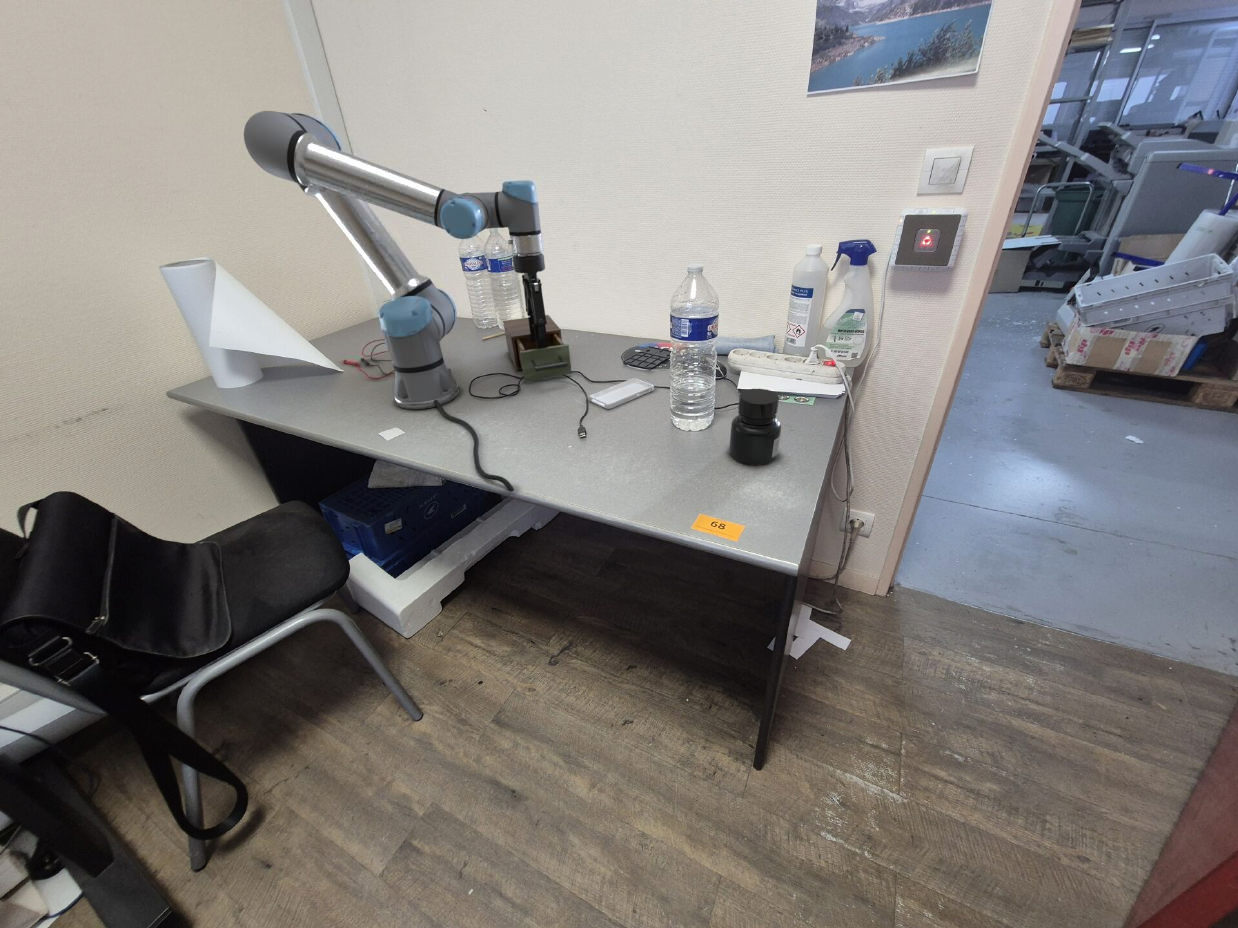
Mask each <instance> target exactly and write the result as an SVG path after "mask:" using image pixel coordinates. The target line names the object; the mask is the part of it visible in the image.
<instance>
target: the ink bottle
mask: <svg viewBox="0 0 1238 928" xmlns="http://www.w3.org/2000/svg"><path fill="white" fill-rule="evenodd" d="M779 401H780V397H779V394H778V393H776V392H775V391H772V390H769V389H764V388H749V389H745V390H743V391H741V392H740V394H739V398H738V408H737V409H738V415H736V416H734V418H732V421H731V425H730V436H729V437H730V438H729V453H730V455H731V457H732V458H734V459H735V460H736V461H738V462H740V463H742V464H746V465H751V466H753V465H754V466H755V465H756V466H757V465H766V464H768V463H772V462H773V461H774V460H776V459H777V457H778V453H779V449H780V447H779V446H780V442H781V441H780V440H781V434H782V433H781V432H782V425H781V422H780V421H779V420H778V418H776V417H777V416H778V409H779Z"/></svg>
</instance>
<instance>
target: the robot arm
mask: <svg viewBox="0 0 1238 928" xmlns="http://www.w3.org/2000/svg"><path fill="white" fill-rule="evenodd" d="M243 142H244V145H245V148H246V150H247V152H248V154H249V156H250V157H251V159H252V160H253V162H255V163H256V165H257V166H258V167H259V168H261V169H262V170H263V171H265V172H266V173H267V174H270V175H271V176H273V177H277V178H280V179H283V180H286V181H288V182H289V181H290V182H292V183H296V185H298V186H299V188H300V189H301V190H302V192H303V193H304V194H305V195H306V196H309V197H312V198H315V199H317V200H318V201H319V203H320V204H321V206H322V207H323V208H324V209H325V211H326V212H327V213H328V214H329V216H330V217H331V218H332V219H333V221H334V222H335V223H336V225H337V226H338V227H339V229H340V230H341V231H342V232H343V234H344V235H345V236H346V238H347V239H348V240H349V241H350V243H351V244H352V245H353V247H354V248H355V249H356V251H357V252H358V253H359V255H360V256H361V258H362V259H363V260H364V261H365V262H366V263H367V265H368V266H369V268H370V269H371V270H372V272H373V273H374V274H375V275H376V277H377V278H378V279H379V281H380V282H381V284H383V285H384V287H385V288H386V289H387V291H388V292H389V295H390V297H389V301H387V302H385V303H384V304H383V305H381V306H380V308H379V309H378V313H377V314H378V319H379V326H380V329H381V331H382V334H383V339H385V340H384V341H385V344H386V347H387V350H388V351H389V352H388V354H389V357H390V360H392V361H391V363H392V366H393V370H395V371H394V391H393V397H394V400H395V404H396V405H397V406H398V407H399V408H402V409H405V410H426V409H432V408H436V407H437V408H438V410H439V411H440V413H441V414H442V416H443V417H444V418H446V419H448V420H449V421H452V422H455V423H458V424H460V425H462V426H463V427H465V428H466V429H467V430H468V431H469V432H470V434H471V435H472V438H473V451H472V453H473V460H474V461H473V462H474V466H475V467H474V468H475V469H476V471H477V472H478V474H479V475H480V476H481V477H483V479H486V480H491V481H497V482H500V483H502V484H503V485H504V486H505V487H506V489H507V490H508V491H509V492H514V491H515V488H514V486H513V485H512V483H511V482H510V481H509V480H508V479H506V478H505V477H504V476H501V475H496V474H489V473H486V472H485V470H484V469H483V468H482V466H481V462H480V457H479V444H480V443H479V441H480V440H479V435H478V434H477V432H476V431H475V429H474V428H473V427H472V426H471V425H470V424H469V423H467V421H465V420H463V419H461V418H458V417H456V416H452V415H450V414H449V413H447V412H446V410H445V409H444V407H443V406H442V405H446V404H447V403H450V402H452V401H453V400H454V399H456V398H457V397H458V395H459V394H460V390H459V385H458V383H457V381H456V379H455V378H454V376H453V374H452V369H451V368H448V367H447V365H446V363H445V359H444V354H443V350H442V347H441V343H440V342H442V339H443V338H444V337H445V336H446V335H449V334H450V332H451V331H452V330H453V328H454V325H455V324H456V322H457V318H458V310H457V307H456V304H455V302H454V300H453V298H452V297H451V296H450V295H449V294H448V293H447V292H446V291H444V290H443V289H440V288H438V287H436V285H435V283H433V281H432V280H431V278H430V277H429V276H425V275H421V274H420V272H419V271H417V269H416V267H415V266H414V265H413V263H412V262H411V261H410V259H409V258H408V257H407V255H406V254H405V252H404V251H403V249H402V248H401V247H400V246H399V244H398V243H397V242H396V240H395V239H394V237H393V236H392V234H391V233H390V232H389V231H388V229H387V228H386V226H385V225H384V224H383V222H382V220H380V218H379V216H377V214H376V213H375V211H374V210H373V208H372V207H371V206H370V204H372V205H375V206H377V207H380V208H383V209H386V210H388V211H391V212H395V213H397V214H399V215H403V216H405V217H409V218H411V219H414V220H416V221H420V222H422V223H426V224H427V225H431V226H434V227H437V228H440V229H442V230H445V232H446V233H447V234H448V235H449V236H451V237H452V238H454V239H459V240H468V239H472V238H474V237H475V236H477V235H478V234H479V233H481V232H483V231H484V230H490V229H505V228H507V229H508V234H509V240H507V244H508V245H510V248H511V253H512V254H514V255H513V256H512V264H513V270H514V272H515V273H517V274H521V280H522V281H521V283H522V286H523V294H524V304H525V312H526V315H527V318H528V320H529V328H530V335H531V342H536V344H537V349H538V348H544V347H548V343H547V335H546V326H545V325H546V324H547V321H546V316H545V315H546V310H545V303H544V298H543V288H542V286H543V285H542V282H541V279H540V278H539V277H538V273H539V272H540V273H541V272H543V271H544V270H546V264H545V256H544V254H543V253H542V252H544V243H543V234H542V228H541V219H540V210H539V209H540V208H539V200H538V196H537V189H536V185H535V183H534V181H532V180H530V179H527V180H507V181H506V180H505V181H504V182H502V188H501V190H500V191H494V192H493V191H492V192H491V191H489V192H488V191H487V192H486V191H485V192H462V193H456V192H453V191H451V190H447V189H445V188H442V187H440V186H437V185H436V184H435V185H434V184H432V183H429V182H427V181H424V180H421V179H418V178H416V177H412V176H409V175H407V174H406V173H405V174H404V173H402V172H399V171H397V170H394V169H391V168H389V167H386V166H383V165H381V164H378V163H376V162H372V161H369V160H367V159H364V158H361V157H359V156H357V155H353V154H350V153H349V152H346V151H343V147H342V143H341V142H340V140H339V137H338V136H337V135H336V134H335V132H334V130H332V129H331V128H330V127H329V126H328V125H327V124H326V123H324V122H323V121H322V120H320V119H318V118H316V117H314V116H311V115H308V114H305V113H300V112H291V113H289V112H282V111H275V110H262V111H259V112H256V113H254V114H253V115H251V116H250V117H249V119H248V120H246V123H245V126H244V128H243ZM541 319H542V320H541Z"/></svg>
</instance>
